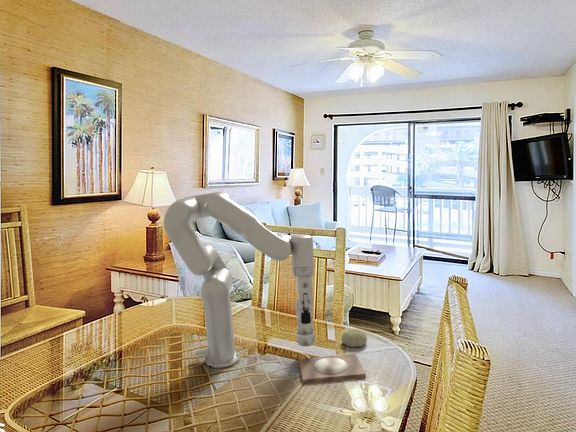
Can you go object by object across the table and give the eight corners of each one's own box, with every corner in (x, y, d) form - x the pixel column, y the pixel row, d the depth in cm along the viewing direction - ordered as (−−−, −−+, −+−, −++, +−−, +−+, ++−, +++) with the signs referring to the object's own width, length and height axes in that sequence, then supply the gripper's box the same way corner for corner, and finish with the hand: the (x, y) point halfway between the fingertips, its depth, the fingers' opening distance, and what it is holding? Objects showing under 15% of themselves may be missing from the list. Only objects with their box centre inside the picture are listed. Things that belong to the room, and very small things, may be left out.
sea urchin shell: (369, 344, 151) (352, 329, 152) (354, 358, 153) (338, 343, 154) (369, 333, 160) (353, 319, 161) (355, 347, 162) (339, 333, 163)
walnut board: (303, 383, 131) (302, 379, 131) (298, 362, 145) (298, 358, 145) (365, 377, 132) (365, 373, 132) (355, 356, 146) (355, 353, 146)
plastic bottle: (315, 348, 147) (313, 293, 144) (296, 349, 147) (294, 294, 144) (314, 340, 153) (313, 287, 150) (296, 341, 153) (294, 288, 151)
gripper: (317, 276, 138) (318, 328, 140) (310, 263, 155) (312, 310, 157) (294, 277, 137) (296, 330, 140) (290, 264, 155) (292, 311, 157)
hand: (304, 319), depth 149 cm, fingers closed on plastic bottle, 6 cm apart
